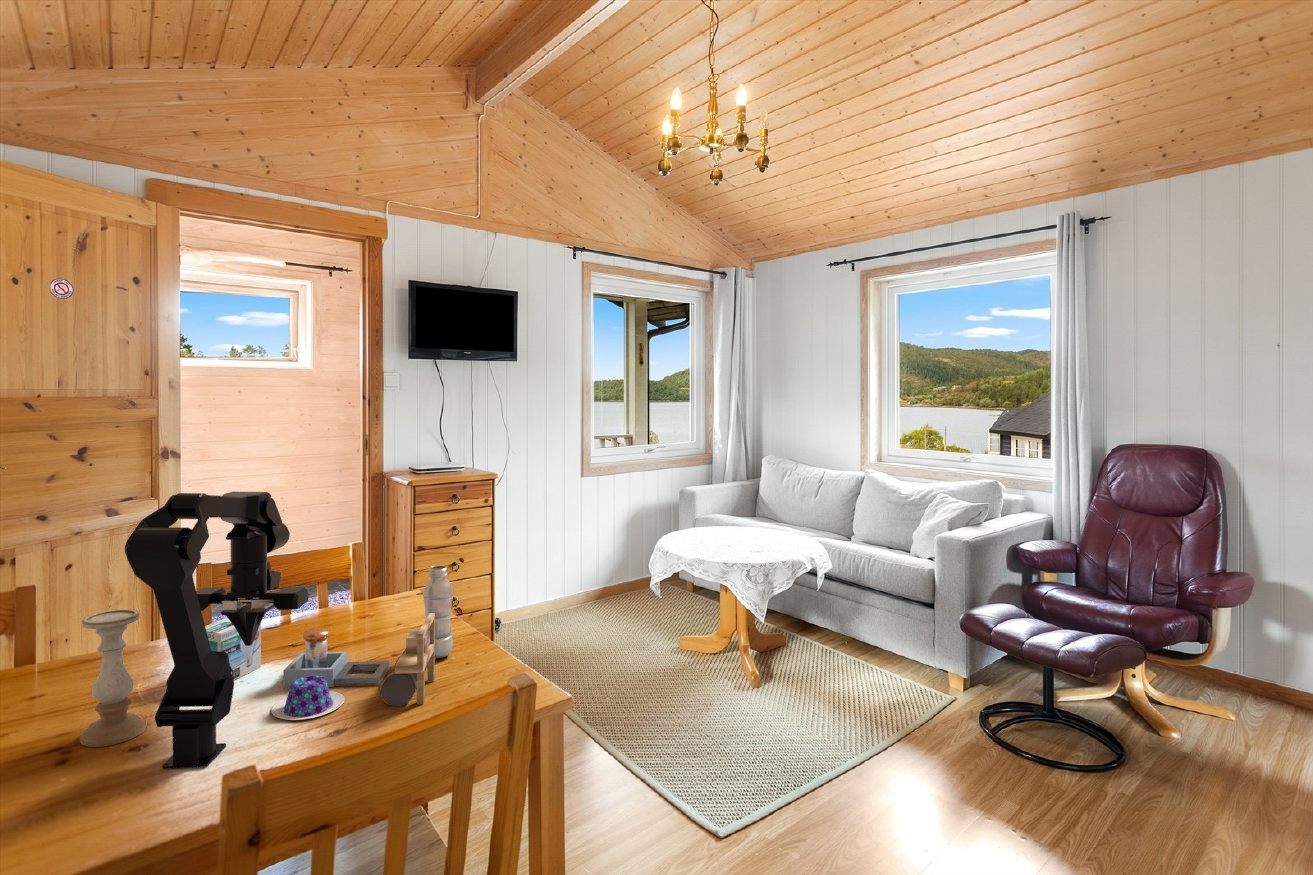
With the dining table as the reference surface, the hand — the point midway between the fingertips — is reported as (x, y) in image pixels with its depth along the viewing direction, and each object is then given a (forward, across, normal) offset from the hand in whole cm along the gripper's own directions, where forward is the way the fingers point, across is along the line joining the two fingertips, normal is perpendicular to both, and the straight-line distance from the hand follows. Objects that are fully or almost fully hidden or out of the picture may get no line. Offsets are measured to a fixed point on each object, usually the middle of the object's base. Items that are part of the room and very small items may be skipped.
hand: (249, 645), depth 124 cm
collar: (+11, -16, -13) cm, 24 cm away
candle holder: (+12, +17, +9) cm, 23 cm away
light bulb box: (+12, +11, -16) cm, 22 cm away
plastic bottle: (+11, -29, -23) cm, 39 cm away
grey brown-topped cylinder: (+11, -7, -13) cm, 18 cm away
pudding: (+12, -10, 0) cm, 16 cm away
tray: (+11, -7, -13) cm, 19 cm away
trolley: (+12, -27, -5) cm, 30 cm away
